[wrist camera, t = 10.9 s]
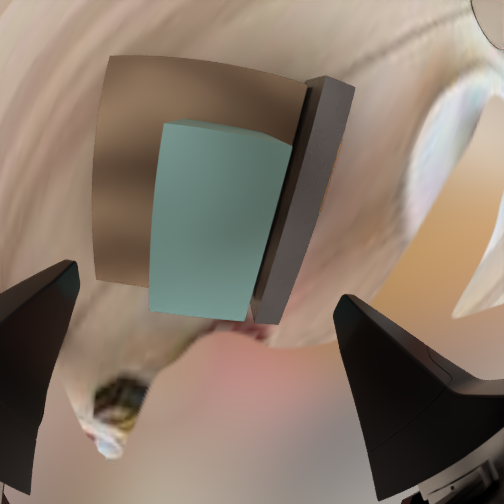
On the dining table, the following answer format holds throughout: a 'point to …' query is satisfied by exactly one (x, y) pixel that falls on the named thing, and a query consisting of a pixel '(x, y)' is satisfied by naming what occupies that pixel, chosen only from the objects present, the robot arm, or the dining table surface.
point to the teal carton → (212, 217)
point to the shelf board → (149, 140)
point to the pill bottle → (491, 19)
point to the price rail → (301, 194)
